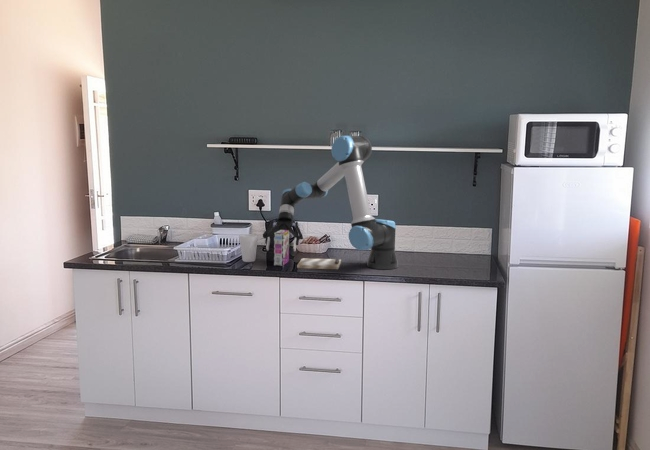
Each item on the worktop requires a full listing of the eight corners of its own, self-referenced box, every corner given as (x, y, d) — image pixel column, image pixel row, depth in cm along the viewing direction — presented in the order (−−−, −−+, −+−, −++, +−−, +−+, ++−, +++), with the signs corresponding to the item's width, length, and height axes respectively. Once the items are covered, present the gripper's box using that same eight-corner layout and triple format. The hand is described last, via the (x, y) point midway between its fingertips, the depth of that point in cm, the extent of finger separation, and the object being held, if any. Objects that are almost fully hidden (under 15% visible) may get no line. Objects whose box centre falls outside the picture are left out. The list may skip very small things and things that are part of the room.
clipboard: (341, 261, 277) (341, 257, 276) (338, 269, 260) (338, 264, 260) (302, 260, 279) (302, 255, 278) (297, 268, 262) (297, 263, 262)
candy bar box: (283, 266, 265) (283, 233, 263) (273, 265, 266) (273, 232, 264) (289, 261, 276) (289, 229, 274) (280, 261, 277) (279, 229, 275)
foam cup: (248, 263, 271) (248, 237, 269) (235, 260, 277) (235, 235, 275) (261, 260, 279) (261, 235, 277) (249, 257, 284) (248, 233, 282)
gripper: (310, 220, 283) (306, 254, 270) (263, 219, 285) (257, 252, 273) (309, 211, 277) (305, 245, 264) (261, 210, 279) (254, 244, 267)
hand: (280, 249), depth 268 cm, fingers open, 13 cm apart
